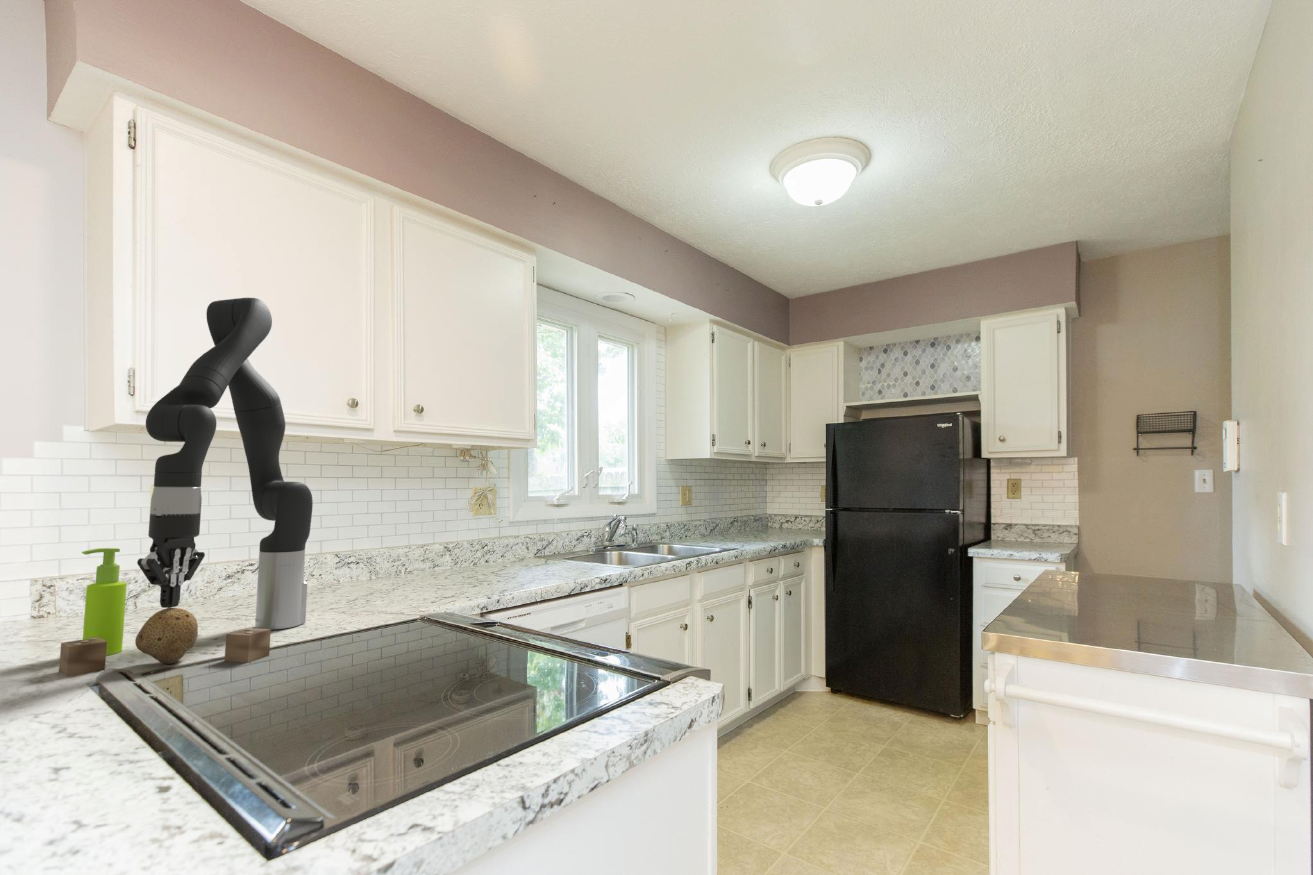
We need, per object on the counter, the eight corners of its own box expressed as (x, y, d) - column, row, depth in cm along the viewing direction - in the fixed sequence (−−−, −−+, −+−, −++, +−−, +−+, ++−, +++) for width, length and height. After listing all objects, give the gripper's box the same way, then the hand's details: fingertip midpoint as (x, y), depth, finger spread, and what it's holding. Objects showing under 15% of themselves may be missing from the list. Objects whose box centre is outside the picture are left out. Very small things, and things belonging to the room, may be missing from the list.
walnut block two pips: (246, 654, 122) (248, 627, 123) (269, 655, 121) (270, 628, 122) (224, 661, 117) (226, 633, 118) (247, 663, 116) (249, 634, 117)
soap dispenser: (70, 654, 121) (79, 548, 122) (117, 647, 126) (124, 546, 128) (77, 660, 117) (86, 550, 119) (125, 652, 122) (132, 548, 124)
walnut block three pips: (96, 665, 114) (98, 636, 114) (104, 670, 111) (106, 640, 111) (58, 672, 110) (61, 641, 110) (66, 677, 107) (69, 646, 107)
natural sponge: (123, 672, 110) (127, 613, 110) (148, 659, 118) (152, 604, 119) (184, 668, 112) (187, 611, 113) (205, 655, 121) (208, 602, 121)
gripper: (185, 510, 124) (179, 600, 123) (124, 512, 111) (117, 613, 109) (222, 510, 123) (216, 601, 122) (165, 513, 110) (158, 614, 109)
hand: (169, 606), depth 116 cm, fingers closed
